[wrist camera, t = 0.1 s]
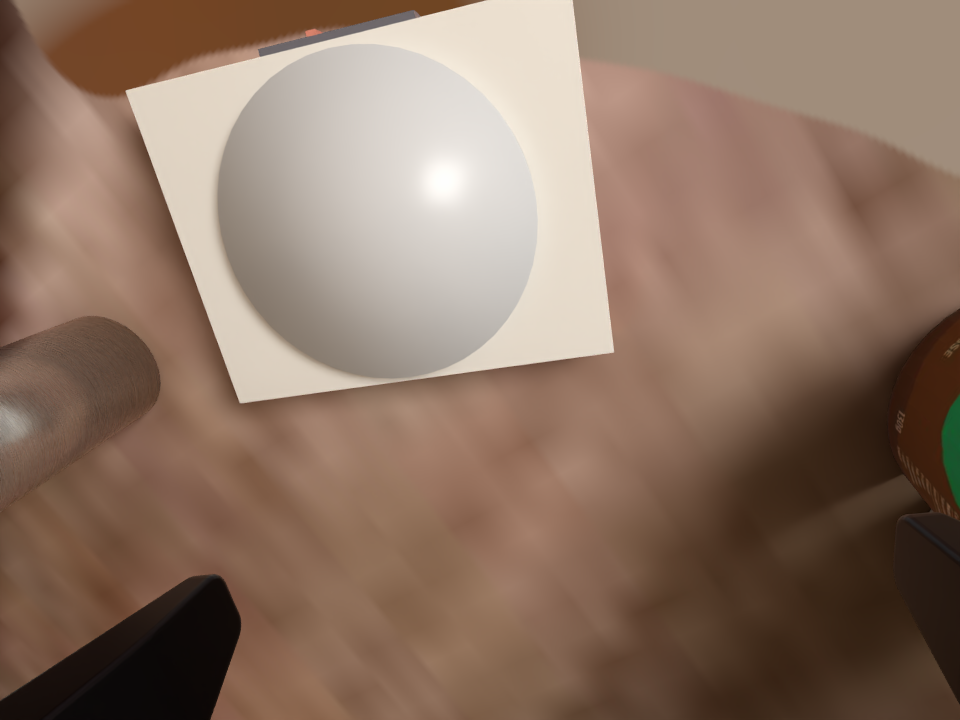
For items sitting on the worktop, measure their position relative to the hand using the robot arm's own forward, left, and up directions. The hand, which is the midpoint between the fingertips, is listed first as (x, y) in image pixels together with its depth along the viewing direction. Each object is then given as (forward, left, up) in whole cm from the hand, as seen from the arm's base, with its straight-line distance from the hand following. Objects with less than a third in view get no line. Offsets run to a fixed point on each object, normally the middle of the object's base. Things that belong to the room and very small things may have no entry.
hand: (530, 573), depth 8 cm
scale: (+4, +5, -15) cm, 16 cm away
